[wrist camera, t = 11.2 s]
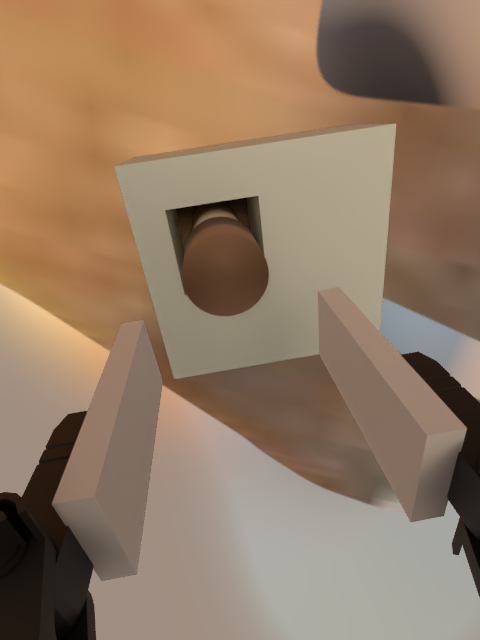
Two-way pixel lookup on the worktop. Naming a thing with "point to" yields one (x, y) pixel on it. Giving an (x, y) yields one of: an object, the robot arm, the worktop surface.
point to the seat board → (267, 237)
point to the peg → (223, 262)
